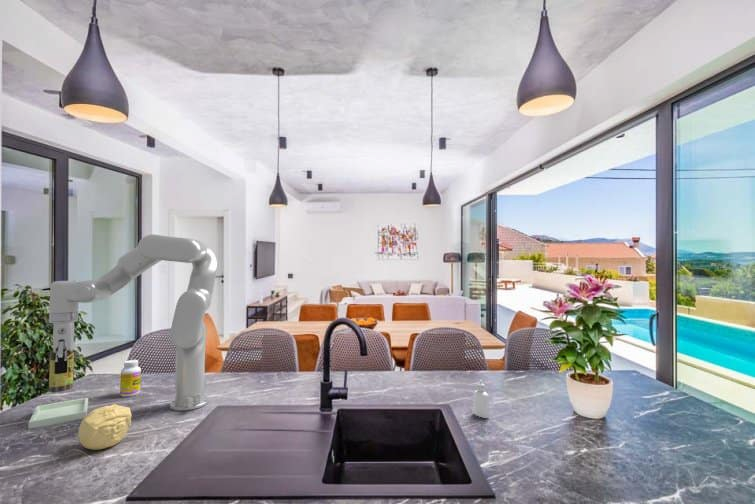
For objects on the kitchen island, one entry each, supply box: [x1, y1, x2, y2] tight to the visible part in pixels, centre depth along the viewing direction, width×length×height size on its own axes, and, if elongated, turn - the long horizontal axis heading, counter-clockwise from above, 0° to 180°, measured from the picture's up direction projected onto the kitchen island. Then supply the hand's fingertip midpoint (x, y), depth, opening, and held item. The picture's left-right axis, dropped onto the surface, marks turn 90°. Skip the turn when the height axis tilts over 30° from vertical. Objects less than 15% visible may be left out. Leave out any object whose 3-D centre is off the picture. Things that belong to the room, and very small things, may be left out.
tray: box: [28, 397, 89, 430], centre depth 126 cm, size 16×14×2 cm
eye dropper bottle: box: [472, 379, 490, 419], centre depth 128 cm, size 4×6×12 cm
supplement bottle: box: [119, 359, 142, 398], centre depth 147 cm, size 7×7×13 cm
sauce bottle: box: [48, 330, 75, 394], centre depth 126 cm, size 6×6×20 cm
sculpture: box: [77, 403, 132, 451], centre depth 106 cm, size 11×12×11 cm
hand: (61, 370), depth 126 cm, fingers closed on sauce bottle, 6 cm apart
